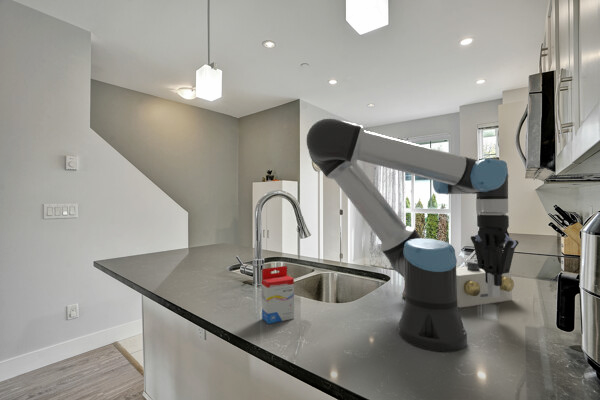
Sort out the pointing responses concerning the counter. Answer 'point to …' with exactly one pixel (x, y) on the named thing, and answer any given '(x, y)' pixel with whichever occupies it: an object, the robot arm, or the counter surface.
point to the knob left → (472, 288)
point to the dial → (473, 266)
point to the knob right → (507, 284)
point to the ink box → (277, 295)
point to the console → (482, 297)
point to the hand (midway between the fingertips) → (493, 296)
